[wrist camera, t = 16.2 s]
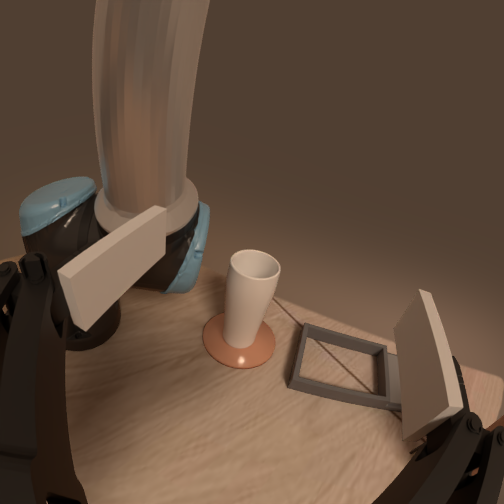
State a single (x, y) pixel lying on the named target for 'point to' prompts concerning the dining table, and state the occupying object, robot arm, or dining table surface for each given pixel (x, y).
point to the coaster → (235, 356)
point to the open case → (384, 400)
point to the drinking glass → (248, 295)
